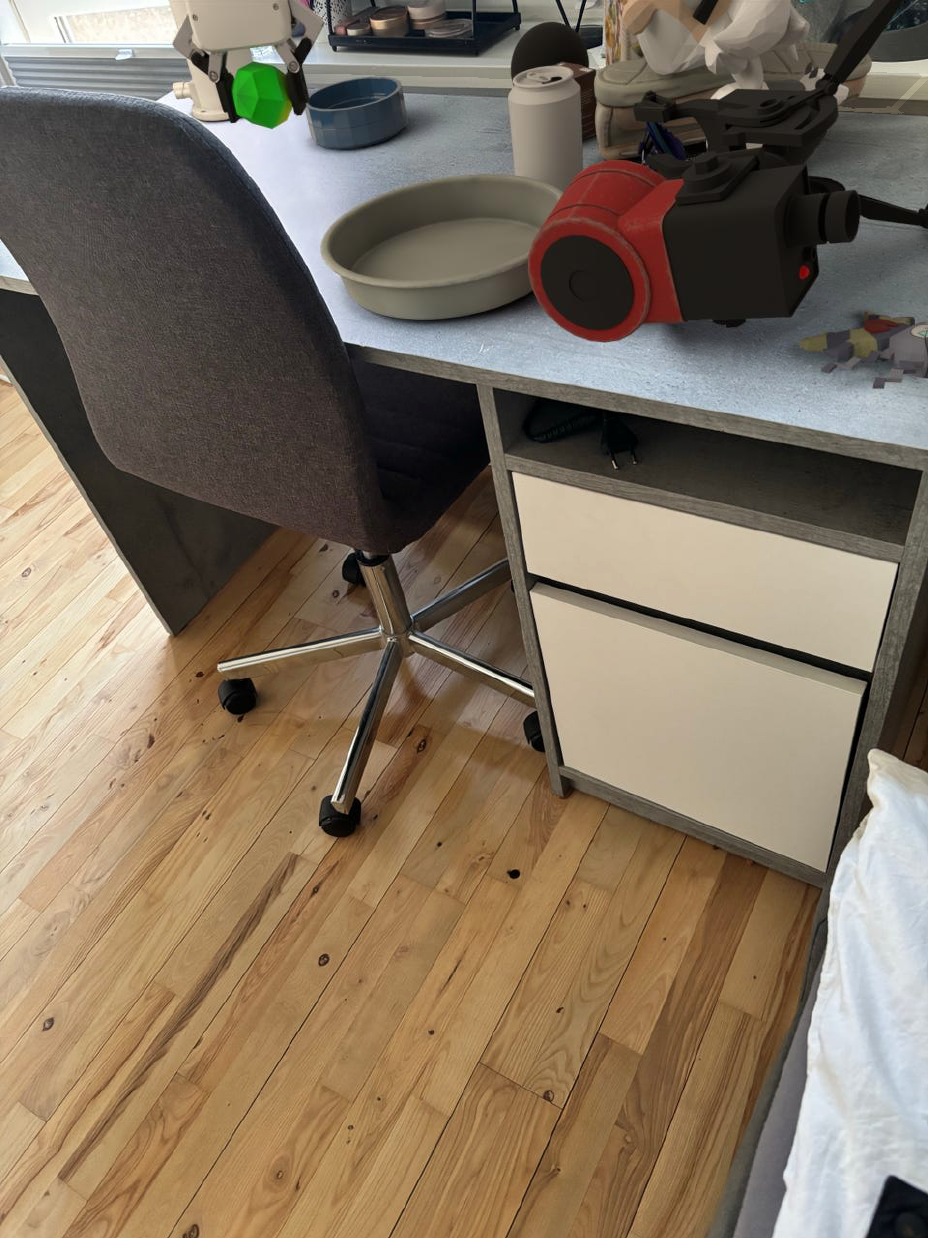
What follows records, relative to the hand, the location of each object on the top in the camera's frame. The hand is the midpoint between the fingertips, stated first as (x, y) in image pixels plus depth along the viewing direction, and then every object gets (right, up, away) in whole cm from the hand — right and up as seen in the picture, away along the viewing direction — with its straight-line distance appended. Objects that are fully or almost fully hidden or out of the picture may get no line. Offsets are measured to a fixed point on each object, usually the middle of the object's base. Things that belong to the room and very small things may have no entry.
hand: (268, 113), depth 98 cm
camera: (+50, -8, -15) cm, 53 cm away
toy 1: (+37, +10, -14) cm, 41 cm away
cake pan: (+20, -19, -7) cm, 28 cm away
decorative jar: (+45, +8, +15) cm, 48 cm away
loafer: (+50, +7, +1) cm, 50 cm away
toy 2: (+50, -30, -24) cm, 64 cm away
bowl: (+7, +12, +27) cm, 31 cm away
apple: (-3, 0, -4) cm, 5 cm away
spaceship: (+43, -3, -1) cm, 43 cm away
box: (+33, +5, +16) cm, 37 cm away
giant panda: (+53, -6, +1) cm, 54 cm away
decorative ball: (+33, +13, +23) cm, 42 cm away
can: (+31, -7, +4) cm, 32 cm away
